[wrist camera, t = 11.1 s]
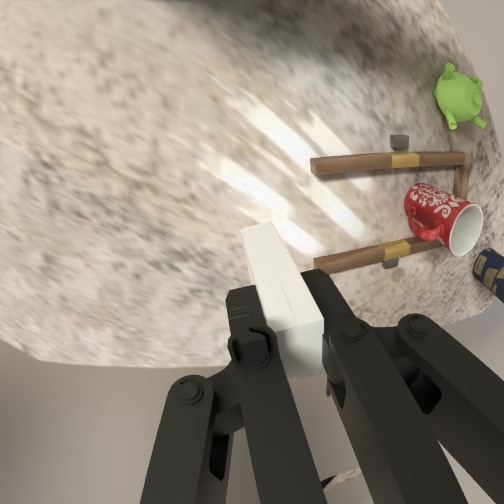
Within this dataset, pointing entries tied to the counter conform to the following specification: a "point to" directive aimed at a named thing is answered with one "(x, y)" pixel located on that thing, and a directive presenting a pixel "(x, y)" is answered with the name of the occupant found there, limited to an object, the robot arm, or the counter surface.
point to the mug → (443, 218)
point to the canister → (491, 272)
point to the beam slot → (385, 161)
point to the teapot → (459, 97)
